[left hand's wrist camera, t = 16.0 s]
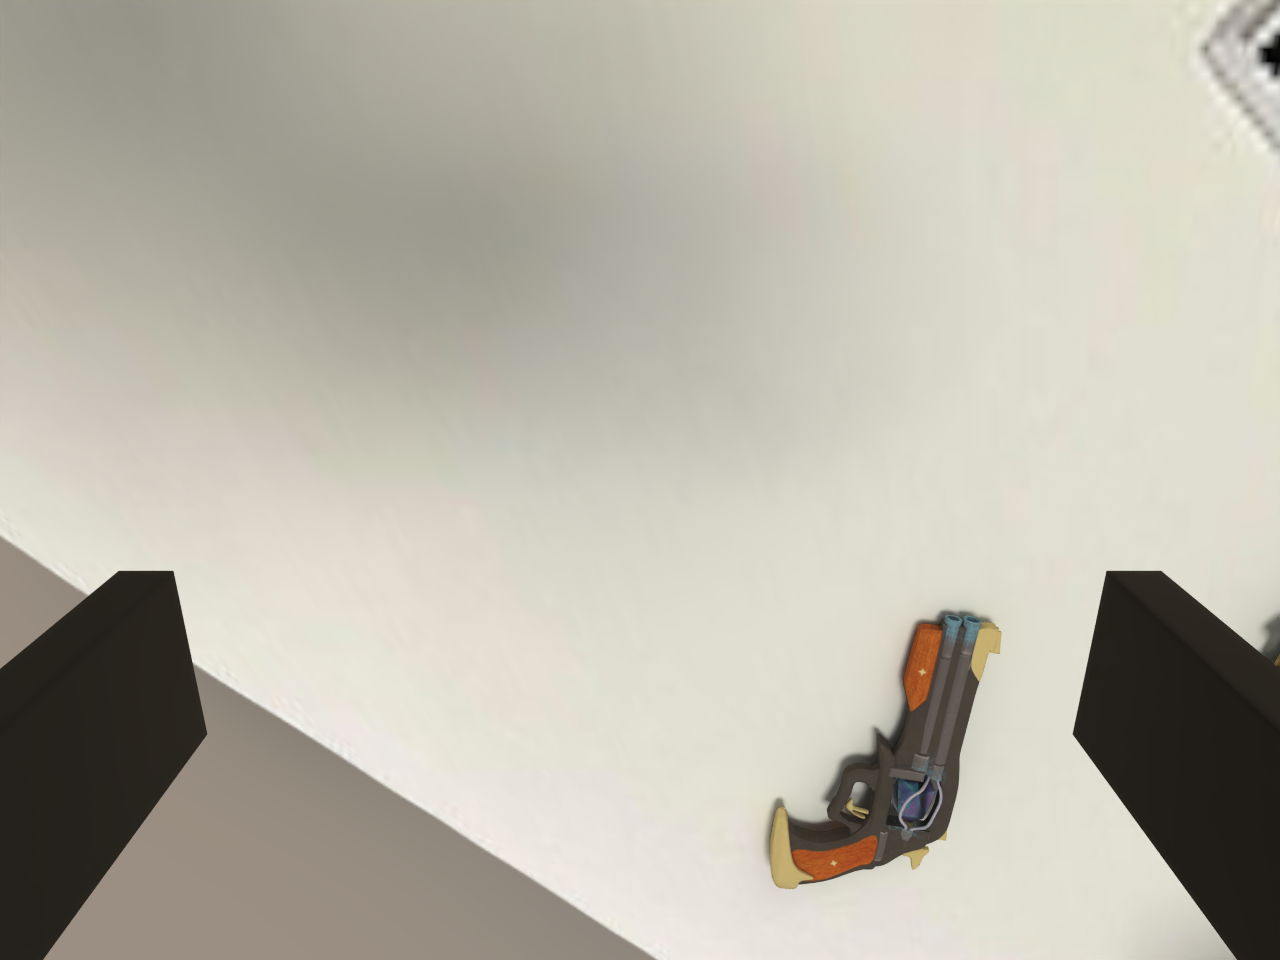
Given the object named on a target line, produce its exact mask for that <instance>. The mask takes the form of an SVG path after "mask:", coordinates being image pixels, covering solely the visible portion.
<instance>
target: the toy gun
mask: <svg viewBox="0 0 1280 960" xmlns="http://www.w3.org/2000/svg"><path fill="white" fill-rule="evenodd" d="M1000 643H1001V631H999V628H998V627H996V625H995V624H994V623H988V622H982V621H981V620H980V619H978V618H976V617H973V616H964V617H963V620H962V619H961V618H960V617H958V616H955V615H949V614H948V615H946V616H945V619H941V623H940V625H939V626H938V625H932V624H920V625H919V626H918V628H917V632H916V635H915V639H914V642H913V645H912V649H911V653H910V656H909V660H908V664H907V667H906V671H905V675H904V680H903V683H904V688H905V692H906V696H907V701H908V705H909V710H908V714H907V718H906V722H905V726H904V730H903V732H902V735H901V737H900V739H899V741H898V743H897V744H896V746H895V747H894V748H893V750H892V748H891V746H890V744H889V743H888V742H887V741H886V740H885V739H884V738H883V737H882V736H881V735H880V734H879V733H877V740H878V749H879V753H878V763H875V764H873V765H870V764H865V763H855V764H852V765H849V766H847V767H846V768H845V770H844V772H843V777H842V781H841V784H840V787H839V789H838V791H837V793H836V795H835V797H834V798H833V800H832V801H831V803H830V804H829V806H828V808H827V813H828V817H829V818H830V819H832V820H835V821H838V822H841V823H843V824H845V825H846V826H848V827H845V828H841V829H837V830H832V831H825V832H813V831H809V830H806V829H803V828H800V827H797V826H795V825H794V824H792V823H791V822H790V821H789V820H788V816H787V812H786V809H785V808H784V807H781V808H778V809H777V811H776V814H775V818H774V822H773V827H772V833H771V839H770V862H771V875H772V879H773V881H774V883H775V885H776V886H777V887H779V888H786V889H794V888H796V887H797V886H798V884H808V883H816V882H822V881H826V880H830V879H834V878H837V877H840V876H842V875H845V874H848V873H851V872H854V871H858V870H862V869H873V868H874V867H875V866H882V865H885V864H887V863H889V862H890V861H892V860H893V859H895V858H897V857H898V856H900V855H904V856H908V857H910V858H911V867H912V870H913V869H916V868H917V867H918V866H919V864H920V863H921V861H922V858H923V856H924V855H926V854H927V853H928V852H929V848H928V847H927V846H925V845H926V844H929V843H932V842H934V841H936V840H938V839H940V840H946V835H947V828H948V825H949V822H950V818H951V815H952V811H953V807H954V803H955V799H956V795H957V790H958V784H959V756H960V752H961V747H962V744H963V740H964V736H965V732H966V728H967V724H968V721H969V717H970V713H971V709H972V705H973V701H974V698H975V694H976V691H977V687H978V684H979V682H980V680H981V677H982V674H983V670H984V667H985V663H986V660H987V656H988V653H989V652H991V653H998V654H1000ZM894 777H895V778H896V779H895V780H894ZM930 778H931V779H933V780H935V781H937V786H938V791H937V795H936V799H935V802H934V805H933V808H932V810H931V812H930V814H929V815H928V817H927V818H926V819H925V820H924V821H921V820H920V819H923V818H924V816H925V814H926V812H927V810H928V808H929V806H930V804H931V801H932V798H933V796H934V793H935V790H934V788H933V785H932V783H931V781H930ZM855 782H863V783H866V784H867V785H869V786H870V787H871V788H872V792H871V796H870V801H869V805H868V809H864V808H860V807H856V806H854V805H853V800H852V798H850V799H849V797H850V794H851V792H852V788H853V785H854V783H855ZM896 782H897V783H896ZM895 783H896V790H897V806H896V804H895V800H894V784H895ZM848 799H849V800H848ZM891 799H892V802H893V805H894V807H895V809H896V811H897V812H898V815H899V817H898V816H892V815H888V812H889V808H890V804H891ZM847 800H848V801H847ZM845 804H846V808H847V809H848V810H849V811H850V812H851V813H853V814H854V815H855V816H857V817H853V816H849V815H847V814H845V813H844V812H842V809H843V807H844V805H845ZM853 810H855V811H858V812H861V813H864V814H860V813H857V812H855V811H853ZM859 817H860V818H859Z"/></svg>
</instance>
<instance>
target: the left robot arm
mask: <svg viewBox="0 0 1280 960" xmlns="http://www.w3.org/2000/svg"><path fill="white" fill-rule="evenodd" d="M206 735H207V731H206V726H205V721H204V716H203V711H202V707H201V702H200V697H199V692H198V687H197V682H196V678H195V673H194V668H193V663H192V658H191V653H190V649H189V644H188V639H187V634H186V629H185V625H184V620H183V615H182V610H181V605H180V600H179V596H178V591H177V586H176V581H175V576H174V572H173V571H118V572H117V573H116V574H115V575H113V576H112V577H111V578H110V579H109V580H107V581H106V582H105V583H104V584H103V585H101V586H100V587H99V588H98V589H96V590H95V591H94V592H93V593H92V594H90V595H89V596H88V597H87V598H86V599H84V600H83V601H82V602H81V603H80V604H78V605H77V606H76V607H75V608H74V609H72V610H71V611H70V612H69V613H67V614H66V615H65V616H64V617H63V618H61V619H60V620H59V621H58V622H57V623H55V624H54V625H53V626H52V627H50V628H49V629H48V630H47V631H46V632H45V633H43V634H42V635H41V636H40V637H38V638H37V639H36V640H35V641H34V642H32V643H31V644H30V645H29V646H27V647H26V648H25V649H24V650H23V651H21V652H20V653H19V654H18V655H17V656H15V657H14V658H13V659H12V660H11V661H9V662H8V663H7V664H6V665H4V666H3V667H2V668H1V669H0V960H43V959H44V958H45V956H46V955H47V953H48V952H49V951H50V949H51V948H52V947H53V945H54V944H55V942H56V941H57V940H58V938H59V937H60V936H61V934H62V933H63V931H64V930H65V929H66V927H67V926H68V925H69V923H70V922H71V920H72V919H73V918H74V916H75V915H76V914H77V912H78V911H79V909H80V908H81V907H82V905H83V904H84V903H85V901H86V900H87V899H88V897H89V896H90V894H91V893H92V892H93V890H94V889H95V888H96V886H97V885H98V883H99V882H100V881H101V879H102V878H103V876H104V875H105V874H106V872H107V871H108V870H109V868H110V867H111V866H112V864H113V863H114V862H115V860H116V859H117V857H118V856H119V855H120V853H121V852H122V851H123V849H124V848H125V846H126V845H127V844H128V842H129V841H130V840H131V838H132V837H133V835H134V834H135V833H136V831H137V830H138V829H139V827H140V826H141V824H142V823H143V822H144V820H145V819H146V818H147V816H148V815H149V813H150V812H151V811H152V809H153V808H154V807H155V805H156V804H157V802H158V801H159V800H160V798H161V797H162V796H163V794H164V793H165V792H166V790H167V789H168V787H169V786H170V785H171V783H172V782H173V780H174V779H175V778H176V776H177V775H178V774H179V772H180V771H181V770H182V768H183V767H184V765H185V764H186V763H187V761H188V760H189V759H190V757H191V756H192V754H193V753H194V752H195V750H196V749H197V748H198V746H199V745H200V744H201V742H202V741H203V739H204V738H205V737H206ZM1073 735H1074V737H1075V738H1076V739H1077V741H1078V742H1079V744H1080V745H1081V746H1082V748H1083V749H1084V750H1085V752H1086V753H1087V754H1088V756H1089V757H1090V759H1091V760H1092V761H1093V763H1094V764H1095V765H1096V767H1097V768H1098V770H1099V771H1100V772H1101V774H1102V775H1103V776H1104V778H1105V779H1106V781H1107V782H1108V783H1109V785H1110V786H1111V787H1112V789H1113V790H1114V792H1115V793H1116V794H1117V796H1118V797H1119V798H1120V800H1121V801H1122V803H1123V804H1124V805H1125V807H1126V808H1127V809H1128V811H1129V812H1130V813H1131V815H1132V816H1133V818H1134V819H1135V820H1136V822H1137V823H1138V824H1139V826H1140V827H1141V829H1142V830H1143V831H1144V833H1145V834H1146V835H1147V837H1148V838H1149V840H1150V841H1151V842H1152V844H1153V845H1154V846H1155V848H1156V849H1157V851H1158V852H1159V853H1160V855H1161V856H1162V857H1163V859H1164V860H1165V862H1166V863H1167V864H1168V866H1169V867H1170V868H1171V870H1172V871H1173V872H1174V874H1175V875H1176V877H1177V878H1178V879H1179V881H1180V882H1181V883H1182V885H1183V886H1184V888H1185V889H1186V890H1187V892H1188V893H1189V894H1190V896H1191V897H1192V899H1193V900H1194V901H1195V903H1196V904H1197V905H1198V907H1199V908H1200V910H1201V911H1202V912H1203V914H1204V915H1205V916H1206V918H1207V919H1208V921H1209V922H1210V923H1211V925H1212V926H1213V927H1214V929H1215V930H1216V931H1217V933H1218V934H1219V936H1220V937H1221V938H1222V940H1223V941H1224V942H1225V944H1226V945H1227V947H1228V948H1229V949H1230V951H1231V952H1232V953H1233V955H1234V956H1235V958H1236V959H1237V960H1280V669H1279V668H1278V667H1277V666H1276V665H1274V664H1273V663H1272V662H1271V661H1269V660H1268V659H1267V658H1266V657H1265V656H1263V655H1262V654H1261V653H1260V652H1259V651H1257V650H1256V649H1255V648H1254V647H1253V646H1251V645H1250V644H1249V643H1248V642H1246V641H1245V640H1244V639H1243V638H1242V637H1240V636H1239V635H1238V634H1237V633H1236V632H1234V631H1233V630H1232V629H1231V628H1230V627H1228V626H1227V625H1226V624H1225V623H1223V622H1222V621H1221V620H1220V619H1219V618H1217V617H1216V616H1215V615H1214V614H1213V613H1211V612H1210V611H1209V610H1208V609H1207V608H1205V607H1204V606H1203V605H1202V604H1200V603H1199V602H1198V601H1197V600H1196V599H1194V598H1193V597H1192V596H1191V595H1190V594H1188V593H1187V592H1186V591H1185V590H1184V589H1182V588H1181V587H1180V586H1179V585H1177V584H1176V583H1175V582H1174V581H1173V580H1171V579H1170V578H1169V577H1168V576H1167V575H1165V574H1164V573H1163V572H1162V571H1107V572H1106V576H1105V581H1104V586H1103V591H1102V596H1101V600H1100V605H1099V610H1098V615H1097V620H1096V625H1095V629H1094V634H1093V639H1092V644H1091V649H1090V653H1089V658H1088V663H1087V668H1086V673H1085V678H1084V682H1083V687H1082V692H1081V697H1080V702H1079V706H1078V711H1077V716H1076V721H1075V726H1074V731H1073Z"/></svg>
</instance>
